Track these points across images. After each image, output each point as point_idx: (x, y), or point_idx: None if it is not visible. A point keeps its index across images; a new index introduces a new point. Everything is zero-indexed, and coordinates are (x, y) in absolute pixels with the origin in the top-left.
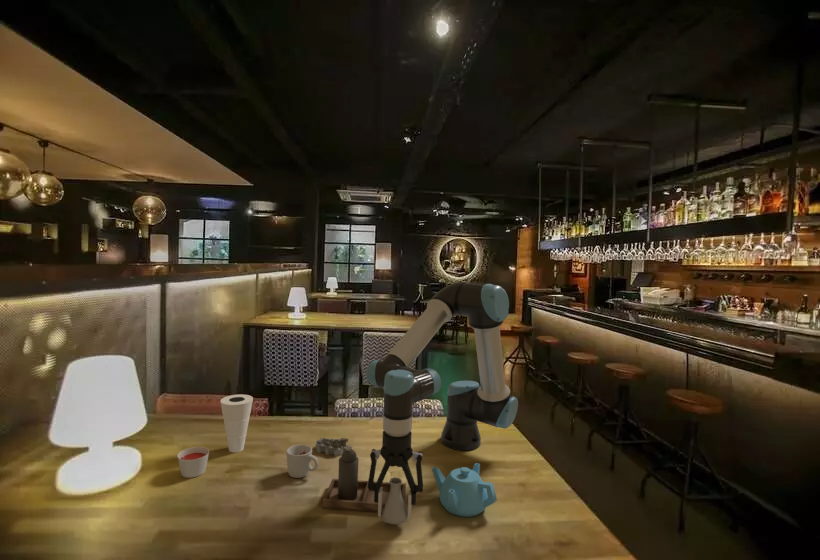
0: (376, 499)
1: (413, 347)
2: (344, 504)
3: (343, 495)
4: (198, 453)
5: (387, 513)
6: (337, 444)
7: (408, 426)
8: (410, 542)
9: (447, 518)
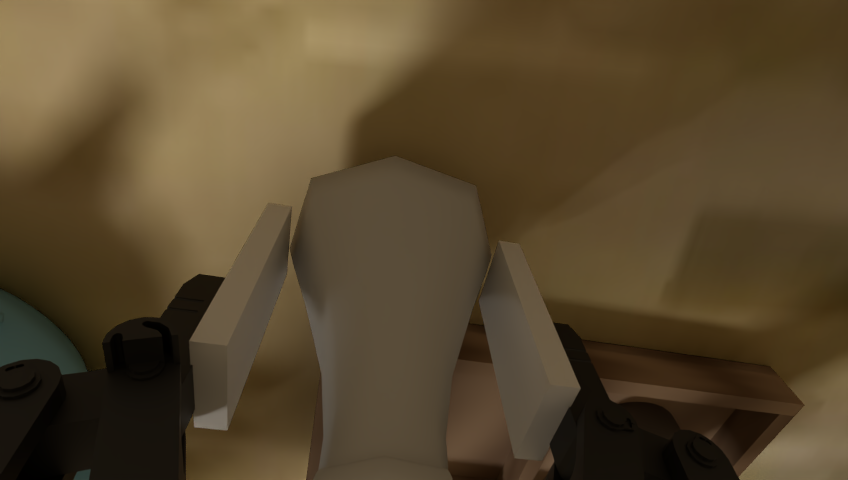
0: (564, 343)
1: None
2: (678, 376)
3: (673, 433)
4: None
5: (460, 228)
6: None
7: None
8: (286, 19)
9: (36, 254)
